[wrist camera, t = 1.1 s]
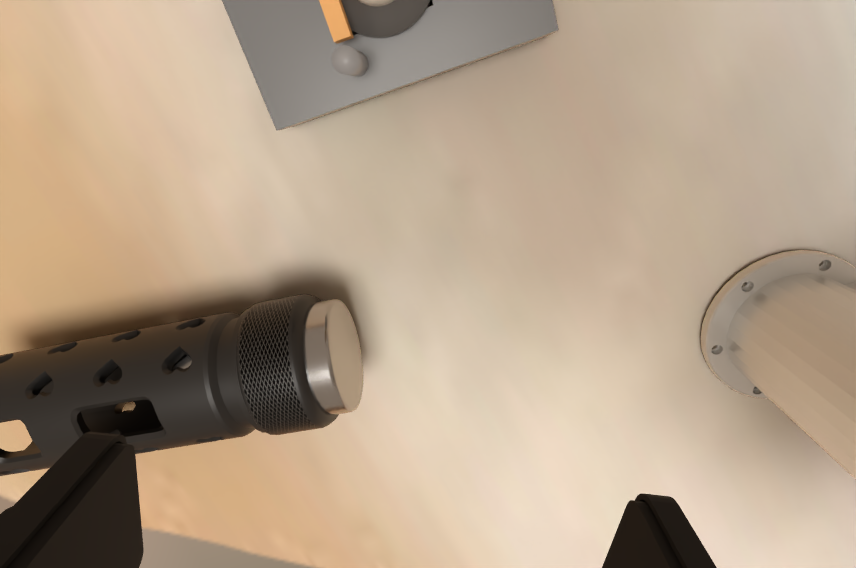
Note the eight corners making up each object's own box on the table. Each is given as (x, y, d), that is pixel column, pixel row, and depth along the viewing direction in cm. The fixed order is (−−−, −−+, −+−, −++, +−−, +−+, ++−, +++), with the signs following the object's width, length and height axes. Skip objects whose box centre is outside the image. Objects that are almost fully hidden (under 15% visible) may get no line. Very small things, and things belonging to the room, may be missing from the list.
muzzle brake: (22, 328, 41) (-105, 400, 32) (344, 265, 39) (312, 323, 29) (74, 421, 45) (-27, 511, 35) (373, 369, 42) (353, 452, 32)
